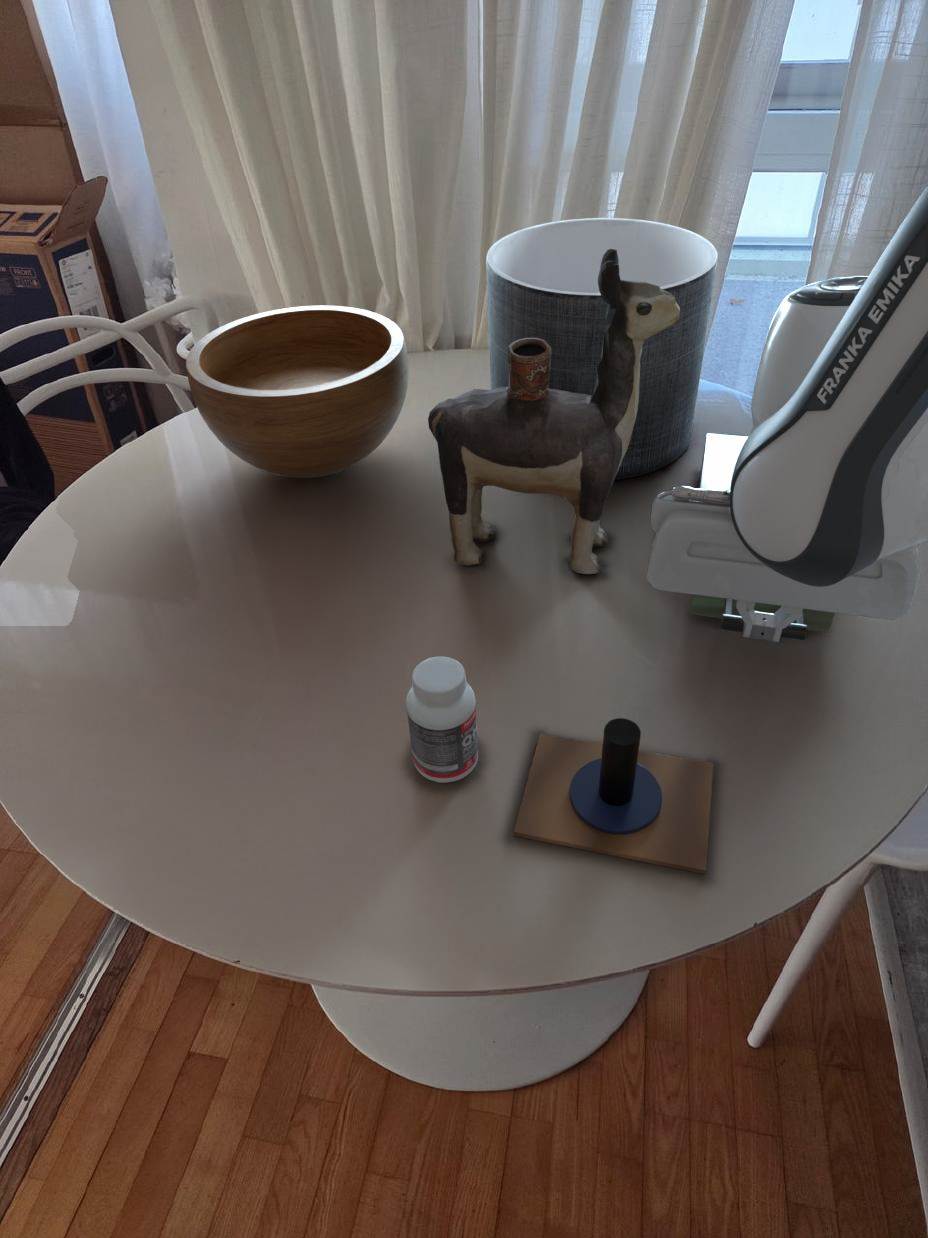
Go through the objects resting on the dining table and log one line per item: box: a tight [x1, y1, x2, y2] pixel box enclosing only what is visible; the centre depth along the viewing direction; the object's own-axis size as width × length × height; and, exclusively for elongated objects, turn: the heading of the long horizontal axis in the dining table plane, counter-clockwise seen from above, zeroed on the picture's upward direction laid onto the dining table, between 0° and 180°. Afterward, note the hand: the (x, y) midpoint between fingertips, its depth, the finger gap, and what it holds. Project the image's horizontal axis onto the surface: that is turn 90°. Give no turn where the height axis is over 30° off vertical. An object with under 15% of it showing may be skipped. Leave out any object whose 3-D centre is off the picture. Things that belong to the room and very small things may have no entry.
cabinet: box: [697, 432, 749, 491], centre depth 92 cm, size 16×14×6 cm
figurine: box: [427, 249, 680, 575], centre depth 82 cm, size 10×23×30 cm, turn 82°
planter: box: [485, 217, 719, 481], centre depth 103 cm, size 25×25×22 cm
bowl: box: [185, 304, 409, 479], centre depth 102 cm, size 25×25×15 cm
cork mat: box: [513, 733, 715, 875], centre depth 66 cm, size 14×10×1 cm
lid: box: [570, 717, 662, 835], centre depth 63 cm, size 7×7×8 cm
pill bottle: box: [405, 656, 479, 784], centre depth 67 cm, size 5×5×10 cm
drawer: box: [689, 594, 836, 642], centre depth 82 cm, size 19×12×4 cm, turn 165°
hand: (760, 635), depth 73 cm, fingers closed, pressing on drawer
